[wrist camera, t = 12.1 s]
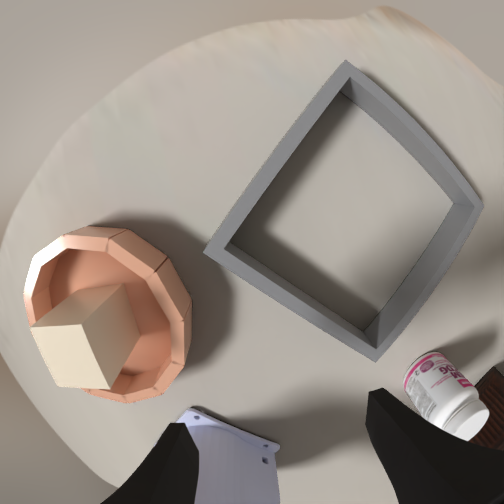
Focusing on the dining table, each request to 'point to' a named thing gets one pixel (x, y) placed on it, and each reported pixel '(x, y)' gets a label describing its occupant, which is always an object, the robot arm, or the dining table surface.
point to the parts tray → (428, 265)
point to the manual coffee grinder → (491, 410)
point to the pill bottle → (445, 396)
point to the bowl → (139, 294)
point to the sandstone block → (88, 337)
